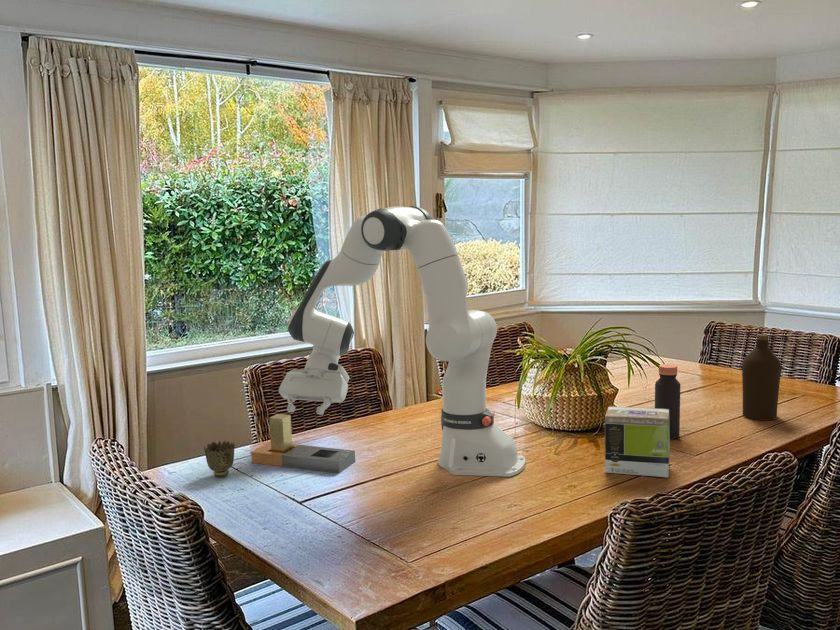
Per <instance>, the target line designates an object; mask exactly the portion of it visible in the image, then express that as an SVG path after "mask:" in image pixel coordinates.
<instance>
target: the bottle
mask: <svg viewBox="0 0 840 630" xmlns="http://www.w3.org/2000/svg"><path fill="white" fill-rule="evenodd" d="M658 376H659V378H658V379H657V380H656V381H655V383H654V408H657V409H669V438H670V440H671V439H677V438H678V437H680V430H681V429H680V425H681V421H680V420H681V416H680V415H681V382H679V380H678V379H677V377H678V365H677V364H671V363H663V364H659V365H658Z"/></svg>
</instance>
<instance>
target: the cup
mask: <svg viewBox="0 0 840 630" xmlns="http://www.w3.org/2000/svg"><path fill="white" fill-rule="evenodd" d="M206 446H207V447H206ZM206 446H203V449H204V454H205V460H206V464H207V467H208V468H209V469H210V470H211V471H212V472H213V475H214V476H215V478H224V477H227V476H228V474H229V473H230V472H229V469H231V468H232V466H233V465H234V458H235V446H236V445H235V442H234V443H233V442H232V441H231V442H229V441H226V440H224V441H223V442H222V443H221V441H218V442H215V441H212V442H211V443H207V444H206Z"/></svg>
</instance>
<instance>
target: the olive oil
mask: <svg viewBox="0 0 840 630" xmlns="http://www.w3.org/2000/svg"><path fill="white" fill-rule="evenodd" d="M755 344H756V345H755V347H754V348H753V349H752V350H751V351H750V352H748V354H747V355H745V357H744V359H743V361H742V364H741V372H742V376H741V377H742V383H741V384H742V416H743V417H745V418H747V419H750V420H753V421H754V420H755V421H772V420H775V419H777V417H778V404H779V394H780V393H779V391H780V385H781V384H780V382H781V374H782V365H781V362H780V359H779V358H778V356H777V355H776V354H775V353H774V352H773V351H772V350H771V348H769V334H767V333H759V334H758V333H757V334H756V339H755Z"/></svg>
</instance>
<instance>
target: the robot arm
mask: <svg viewBox="0 0 840 630" xmlns="http://www.w3.org/2000/svg"><path fill="white" fill-rule="evenodd" d="M399 250H407V251H408V252H409V253H410V254H411V256H412V259H413V261H414V264H415V267H416V270H417V273H418V276H419V279H420V282H421V285H422V288H423V291H424V294H425V299H426V303H427V310H428V328H427V329H428V330H427V332H426V335H425V336H426V337H425V344H426V345H425V346H426V348H427V350H428V352H429V353H430V355H431V356H432V357H433V358H434V359H436V360H438V361H442V362H448V364H447V368H446V371H445V373H444V375H443V377H442V383H441V385H442V390H441V391H442V409H441V410H440V411H441V415H440V426H441V430H442V436H441V446H440V452H439V456H438V460H437V464H438V465H439V467H441V468H443V469H444V470H446V471H447V472H448V473H449V474H451V475H456V476H457V475H458V476H459V475H460V476H479V477H480V476H483V477H504V478H505V477H506V478H507V477H513V476H515V475H517V474H519V473H521V472H522V471H523V470H524V469H525V467H526V466H527V460H526V457H525V456H524V455H522V454H518V450H517V445H516V442H515V439H514V438H513V437H512V436H510V435H509V434H508V433H506V432H505V431H503V429H501V428H500V427H498V425H496V424H495V421H494V420H495V418H494V417H495V416H496V414H495V413H496V411H494V410H493V411H492V412H491V411H490V410H489V409H488V408H487V373H488V368H489V363H490V359H491V358H490V357H491V353H492V347H493V344H494V341H495V339H496V337H497V333H498V325H497V323H496V320H495V319H494V317H493V316H492V315H491V314H490V313H488V312H487V311H483V310H477V309H468V303H467V299H468V298H467V292H468V288H469V282H468V279H467V276H466V273H465V270H464V268H463V265H462V262H461V259H460V257H459V253H458V251H457V248H456V246H455V243H454V241H453V240H452V237H451V235H450V234H449V231H448V230H447V228H446V226H445V225H444V223H443V222H441V221H440V220H437V219H432V216H431V215H430V213H429V212H428V211H427V210H425V209H424V208H422V207H419V206H414V205H409V206H398V205H397V206H395V205H394V206H389V207H386V208H377V209H375V210H372V211H371V212H369V213H367V214H365V215H360V216H358V217H357V218H356V219H355V220H354V221H353V223H352V225H351V226H350V228H349V230H348V232H347V234H346V236H345V238H344V240H343V244H342V246H341V248H340V251H339V253H338V254H337V255H336V256H335V257H333V259H329V260H328V259H327V260H326V261H325V262H324V263H323V264H322V265H321V267H320V268H319V269H318V272H317V273H316V275H315V276H314V278H313V279H312V282H311V283H310V285H309V287H308V288H307V291H306V292H305V294H304V295H303V298H302V300H301V302H300V303H299V305H298V306H297V307H296V308H295V310H294V311H293V312H292V314H291V316H290V317H289V319H288V322H287V331H288V333H289V335H290V336H291V338H292V339H293V340H294V341H297V342H302V343H306V344H310V345H313V346H312V351H311V353H310V354H309V356H308V358H307V361H306V363H305V365H304V369H297V368H293V369H291V370H290V371H287V372H286V374H285V376H284V378H283V380H282V381H281V383H280V385H279V387H278V394H279V395H280V396H281V397H282V399H285V400H287V401H286V402H287V404H288V405H287V407H286V411H287V412H288V413H294V412H295V411H296V410H295V409H296V406H295V405H294V404H293V403H295V401H297V400H299V401H309V402H310V401H311V402H323V403H322V404H321V405H320V406H317V408H316V411H315V412H316V414H317V415H319V416H321V415H322V416H323V415H324V413H325V411H326V410H327V409H328V408H329V407H330V406H331V404H332V403H339V404H341V403H343V401H345V399H346V398H347V397H346V396H347V393H348V389H349V384H348V383H349V380H350V376H349V374H348V372H347V371H346V369H345V368H344V367H343V365H341V364H339V359H340V358H341V357H342V356H343V355H345V354H346V353H348V352H349V349H350V344H351V342H352V340H353V338H354V334H355V331H354V328H353V326H352V324H351V323H350V322H349V321H347V320H345V319H342V318H339V317H337V316H333V315H330V314H328V313H325V312H323V311H321V310H320V311H319V310H317V309H316V308H315V307H316V304H317V302H318V301H319V300H320V297H321V296H322V294H323V292H324V291H325V290H326V289H328V288H331V287H337V286H338V287H339V286H341V287H342V286H343V287H344V286H345V287H348V286H349V287H353V286H360V285H363V284H365V283H367V282H369V281H370V280H371V279H373V277H374V276H375V274H376V272H377V270H378V269H379V266H380V263H381V260H382V257H383V254H384V252H389V251H399Z"/></svg>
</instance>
